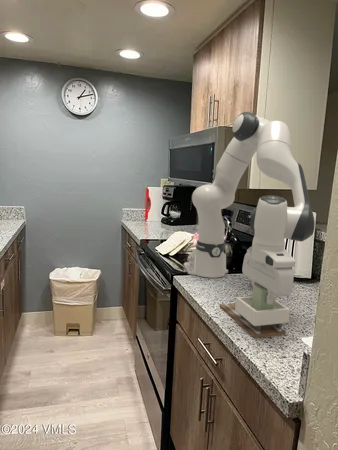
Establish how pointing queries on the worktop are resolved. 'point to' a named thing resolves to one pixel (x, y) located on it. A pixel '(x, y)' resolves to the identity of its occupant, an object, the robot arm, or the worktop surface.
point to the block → (260, 298)
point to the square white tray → (262, 313)
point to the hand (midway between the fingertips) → (262, 299)
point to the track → (263, 332)
